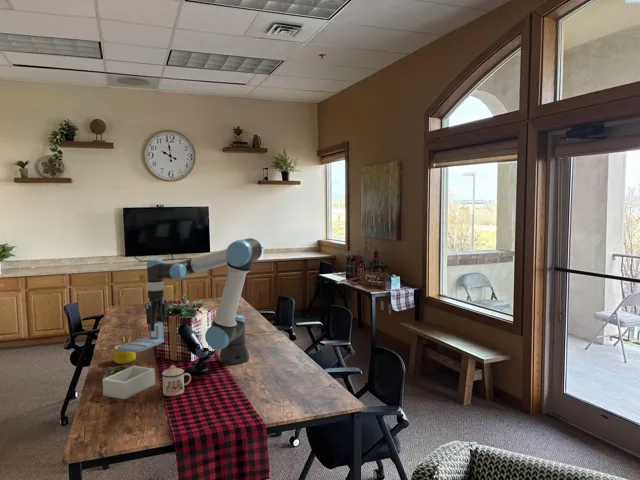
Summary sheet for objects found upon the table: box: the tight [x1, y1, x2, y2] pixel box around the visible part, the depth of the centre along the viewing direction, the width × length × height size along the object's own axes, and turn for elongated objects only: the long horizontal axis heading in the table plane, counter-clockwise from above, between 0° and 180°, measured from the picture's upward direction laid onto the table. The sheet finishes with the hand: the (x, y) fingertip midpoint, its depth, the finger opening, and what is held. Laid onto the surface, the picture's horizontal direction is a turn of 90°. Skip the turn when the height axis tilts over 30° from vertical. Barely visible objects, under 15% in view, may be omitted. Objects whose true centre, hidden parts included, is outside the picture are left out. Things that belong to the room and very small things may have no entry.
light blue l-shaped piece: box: [118, 322, 165, 354], centre depth 237 cm, size 12×22×9 cm, turn 159°
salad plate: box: [103, 365, 132, 379], centre depth 229 cm, size 19×18×5 cm
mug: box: [112, 335, 137, 365], centre depth 250 cm, size 13×11×12 cm
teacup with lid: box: [161, 364, 192, 397], centre depth 208 cm, size 12×9×12 cm
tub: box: [102, 365, 156, 400], centre depth 212 cm, size 12×18×7 cm, turn 159°
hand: (157, 335), depth 246 cm, fingers closed on light blue l-shaped piece, 4 cm apart
